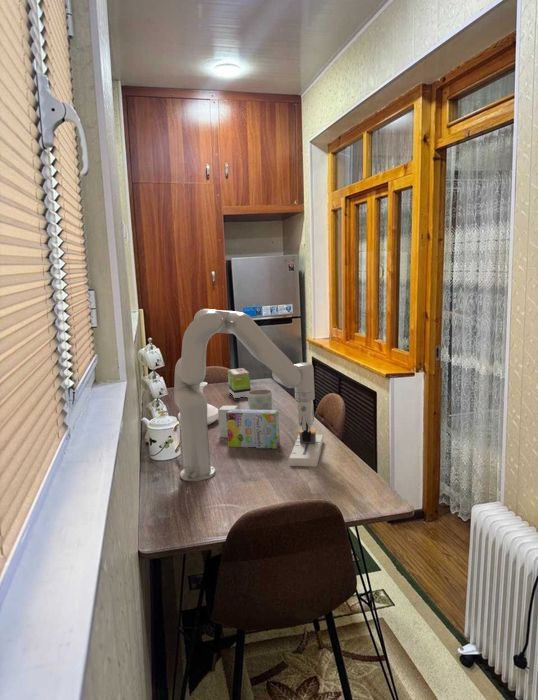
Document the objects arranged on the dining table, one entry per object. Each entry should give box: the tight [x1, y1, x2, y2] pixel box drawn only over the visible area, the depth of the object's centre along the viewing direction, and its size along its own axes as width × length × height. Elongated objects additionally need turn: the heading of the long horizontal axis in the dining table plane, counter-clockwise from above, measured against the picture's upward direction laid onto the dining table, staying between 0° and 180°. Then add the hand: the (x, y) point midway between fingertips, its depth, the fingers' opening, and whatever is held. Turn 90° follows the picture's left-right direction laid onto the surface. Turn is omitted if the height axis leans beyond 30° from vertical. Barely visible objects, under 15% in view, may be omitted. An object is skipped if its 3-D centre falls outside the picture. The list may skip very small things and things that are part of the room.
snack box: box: [226, 408, 281, 450], centre depth 203 cm, size 21×6×15 cm, turn 74°
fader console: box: [289, 433, 324, 467], centre depth 193 cm, size 26×10×3 cm, turn 169°
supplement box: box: [218, 405, 239, 438], centre depth 219 cm, size 7×7×13 cm
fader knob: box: [298, 428, 317, 444], centre depth 196 cm, size 4×6×5 cm, turn 79°
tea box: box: [227, 367, 252, 399], centre depth 288 cm, size 15×10×15 cm, turn 17°
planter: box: [247, 388, 273, 410], centre depth 251 cm, size 12×12×11 cm
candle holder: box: [177, 381, 219, 426], centre depth 239 cm, size 20×20×19 cm
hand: (306, 440), depth 192 cm, fingers closed
